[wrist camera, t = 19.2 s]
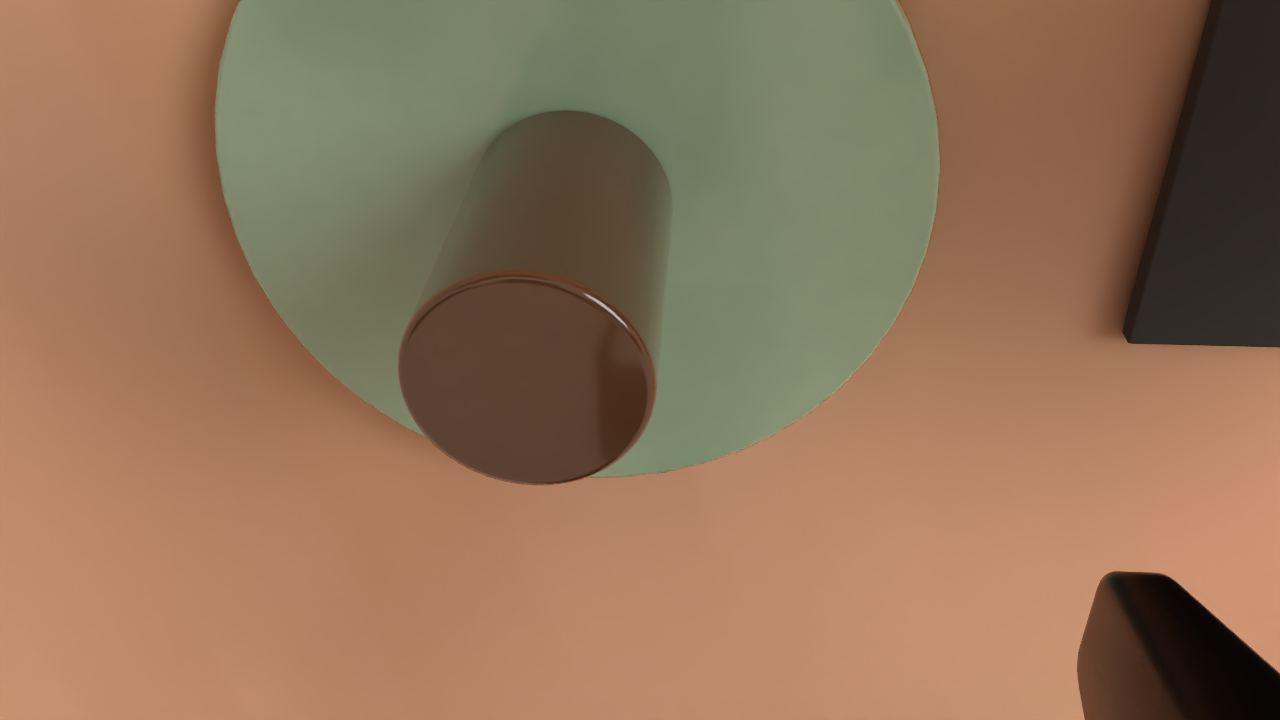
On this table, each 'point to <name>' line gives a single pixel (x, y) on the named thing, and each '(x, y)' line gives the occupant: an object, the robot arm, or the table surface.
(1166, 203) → the mat
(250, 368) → the table surface
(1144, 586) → the robot arm
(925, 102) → the lid
